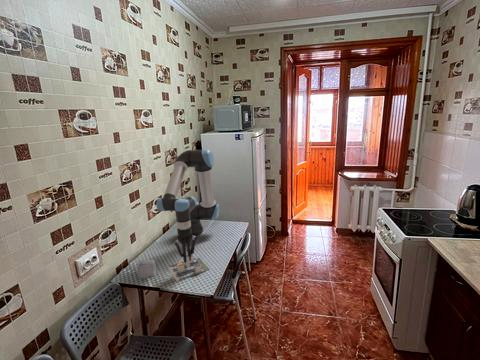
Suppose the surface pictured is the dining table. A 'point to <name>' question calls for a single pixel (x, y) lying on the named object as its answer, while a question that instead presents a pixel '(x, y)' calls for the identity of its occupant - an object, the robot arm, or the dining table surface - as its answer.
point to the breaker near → (198, 268)
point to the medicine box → (147, 268)
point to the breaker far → (192, 259)
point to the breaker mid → (180, 267)
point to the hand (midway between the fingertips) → (187, 266)
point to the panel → (176, 276)
